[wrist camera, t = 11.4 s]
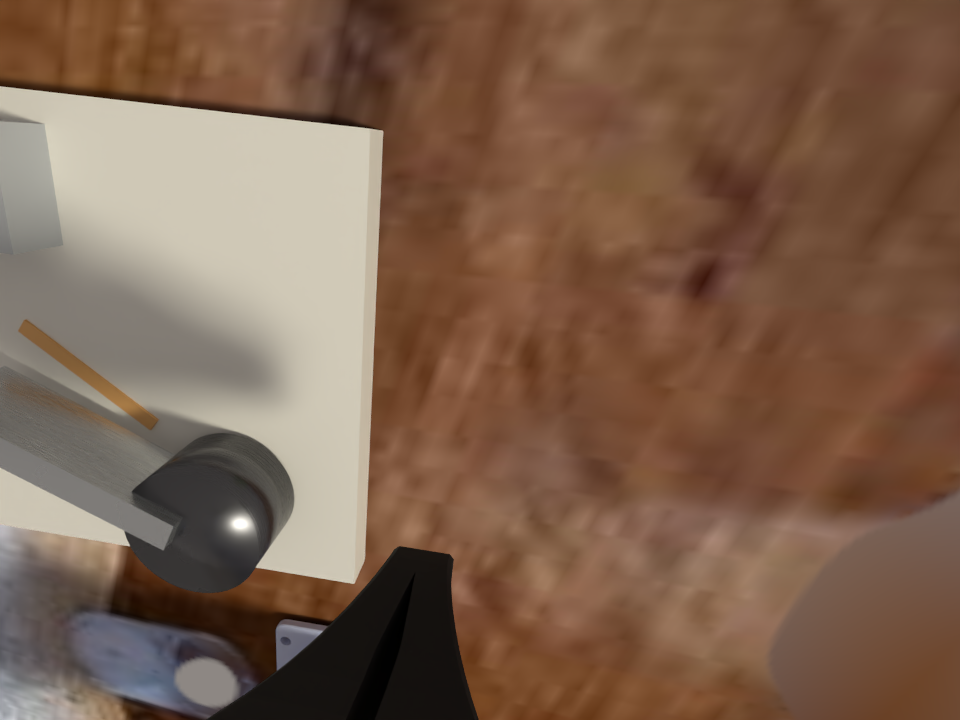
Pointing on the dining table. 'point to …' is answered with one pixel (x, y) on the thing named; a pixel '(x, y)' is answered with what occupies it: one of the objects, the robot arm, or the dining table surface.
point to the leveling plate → (197, 295)
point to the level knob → (150, 485)
